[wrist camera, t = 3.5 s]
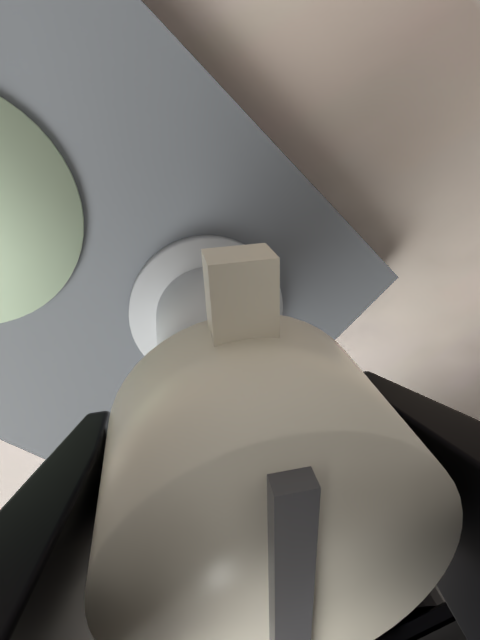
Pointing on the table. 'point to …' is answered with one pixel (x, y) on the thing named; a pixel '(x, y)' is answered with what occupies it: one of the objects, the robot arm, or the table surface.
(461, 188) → the table surface
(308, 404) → the cream rounded dome
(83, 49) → the post board
